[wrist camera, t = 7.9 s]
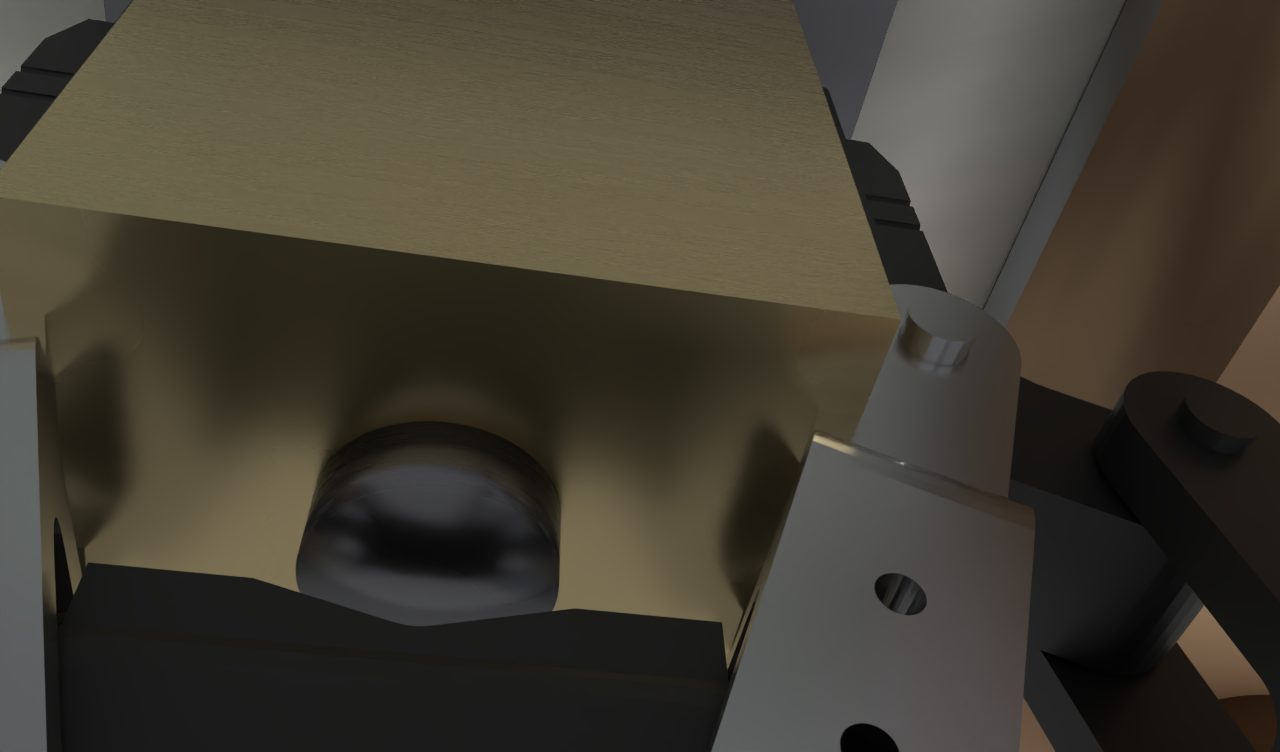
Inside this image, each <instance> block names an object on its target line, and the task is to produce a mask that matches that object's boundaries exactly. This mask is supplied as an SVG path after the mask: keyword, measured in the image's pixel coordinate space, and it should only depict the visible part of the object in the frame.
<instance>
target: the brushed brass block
mask: <svg viewBox="0 0 1280 752" xmlns="http://www.w3.org/2000/svg"><path fill="white" fill-rule="evenodd" d="M0 295H1V300H2V305H3V310H6V311H14V312H23V313H31V314H39V315H45V320H46V326H47V332H48V338H49V343H50V349H51V355H52V361H53V367H54V373H55V384H56V405H57V420H58V430H59V440H60V449H61V457H62V464H63V471H64V477H65V483H66V489H67V495H68V500H69V506H70V512H71V517H72V523H73V529H74V534H75V540H76V546H77V548H84V549H85V555H86V560H87V564H88V562H90V563H100V564H111V565H121V566H132V567H143V568H153V569H164V570H174V571H185V572H196V573H206V574H217V575H227V576H238V577H248V578H255V579H258V580H261V581H264V582H268V583H271V584H274V585H277V586H280V587H284V588H287V589H290V590H293V591H296V592H300V593H303V594H306V595H309V596H312V597H315V598H319V599H322V600H325V601H328V602H331V603H335V604H338V605H341V606H344V607H347V608H351V609H354V610H357V611H360V612H363V613H367V614H370V615H373V616H376V617H379V618H382V619H386V620H389V621H392V622H395V623H399V624H404V625H410V626H431V625H440V624H448V623H457V622H465V621H473V620H482V619H490V618H499V617H507V616H515V615H524V614H532V613H540V612H549V611H557V610H566V609H574V608H577V609H587V610H598V611H609V612H619V613H630V614H640V615H651V616H662V617H672V618H683V619H693V620H704V621H715V622H722V626H723V635H724V644H725V653H726V657H727V654H728V651H729V648H730V646H731V643H732V640H733V638H734V635H735V633H736V630H737V627H738V625H739V622H740V619H741V617H742V614H743V612H746V610H747V607H748V604H749V602H750V599H751V596H752V594H753V591H754V589H755V586H756V583H757V581H758V578H759V575H760V573H761V570H762V567H763V565H764V562H765V560H766V557H767V554H768V552H769V549H770V546H771V543H772V541H773V538H774V535H775V533H776V530H777V527H778V524H779V521H780V519H781V516H782V513H783V510H784V507H785V504H786V501H787V499H788V496H789V493H790V490H791V487H792V484H793V481H794V478H795V475H796V472H797V469H798V466H799V463H800V460H801V457H802V455H803V452H804V449H805V447H806V444H807V442H808V439H809V436H810V434H811V431H812V428H813V426H814V423H815V420H816V418H817V415H818V412H819V410H820V411H829V412H837V413H845V414H853V415H861V416H862V414H863V412H864V409H865V407H866V405H867V402H868V400H869V397H870V395H871V392H872V390H873V387H874V385H875V383H876V380H877V378H878V375H879V373H880V370H881V368H882V365H883V363H884V361H885V358H886V356H887V353H888V351H889V348H890V346H891V343H892V341H893V339H894V336H895V334H896V331H897V329H898V326H899V324H900V321H901V317H900V315H899V312H898V309H897V306H896V303H895V300H894V297H893V294H892V291H891V288H890V285H889V282H888V279H887V276H886V273H885V271H884V268H883V265H882V262H881V259H880V256H879V253H878V250H877V247H876V244H875V241H874V238H873V235H872V232H871V229H870V227H869V224H868V221H867V218H866V215H865V212H864V209H863V206H862V203H861V200H860V197H859V194H858V191H857V188H856V185H855V183H854V180H853V177H852V174H851V171H850V168H849V165H848V162H847V159H846V156H845V153H844V150H843V147H842V144H841V141H840V138H839V136H838V133H837V130H836V127H835V124H834V121H833V118H832V115H831V112H830V109H829V106H828V103H827V100H826V97H825V94H824V92H823V89H822V86H821V83H820V80H819V77H818V74H817V71H816V68H815V65H814V62H813V59H812V56H811V53H810V50H809V48H808V45H807V42H806V39H805V36H804V33H803V30H802V27H801V24H800V21H799V18H798V15H797V12H796V9H795V6H794V4H793V1H792V0H133V2H132V3H131V4H130V5H129V7H128V8H127V9H126V10H125V12H124V13H123V14H122V16H121V17H120V18H119V19H118V21H117V22H116V23H115V24H114V26H113V27H112V28H111V30H110V31H109V32H108V33H107V35H106V36H105V37H104V38H103V40H102V41H101V42H100V44H99V45H98V46H97V47H96V49H95V50H94V51H93V52H92V54H91V55H90V56H89V58H88V59H87V60H86V61H85V63H84V64H83V65H82V66H81V68H80V69H79V70H78V72H77V73H76V74H75V75H74V77H73V78H72V79H71V80H70V82H69V83H68V84H67V86H66V87H65V88H64V89H63V91H62V92H61V93H60V94H59V96H58V97H57V98H56V100H55V101H54V102H53V103H52V105H51V106H50V107H49V108H48V110H47V111H46V112H45V114H44V115H43V116H42V117H41V119H40V120H39V121H38V122H37V124H36V125H35V126H34V128H33V129H32V130H31V131H30V133H29V134H28V135H27V136H26V138H25V139H24V140H23V142H22V143H21V144H20V145H19V147H18V148H17V149H16V150H15V152H14V153H13V154H12V156H11V157H10V158H9V159H8V161H7V162H6V163H5V164H4V166H3V167H2V168H1V170H0Z"/></svg>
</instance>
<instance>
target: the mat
mask: <svg viewBox="0 0 1280 752" xmlns="http://www.w3.org/2000/svg"><path fill="white" fill-rule="evenodd" d="M131 1H132V0H104V5H105V14H106V22H111V23H114V22H115V21H116V20H117V19H118V17H119V16H120V15H121V14H122V12H123V11H124V10H125V8H126V7H127V6H128V5H129V3H130V2H131ZM792 1H793V4H794V6H795V9H796V12H797V15H798V18H799V21H800V24H801V27H802V30H803V33H804V36H805V39H806V42H807V45H808V48H809V50H810V53H811V56H812V59H813V62H814V65H815V68H816V71H817V74H818V77H819V80H820V83H821V86H822V87H826V88H827V89H828V90H829V92H830V95H831V98H832V101H833V104H834V107H835V109H836V112H837V115H838V118H839V121H840V124H841V127H842V129H843V132H844V135H845V138H846V139H848V140H851V137H852V134H853V131H854V128H855V125H856V122H857V119H858V116H859V113H860V110H861V107H862V104H863V101H864V99H865V96H866V93H867V90H868V87H869V84H870V81H871V78H872V75H873V72H874V69H875V66H876V63H877V60H878V57H879V54H880V51H881V48H882V45H883V42H884V39H885V36H886V33H887V30H888V27H889V24H890V21H891V18H892V15H893V12H894V9H895V6H896V3H897V0H792Z"/></svg>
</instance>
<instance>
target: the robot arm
mask: <svg viewBox="0 0 1280 752" xmlns="http://www.w3.org/2000/svg"><path fill="white" fill-rule="evenodd" d="M132 2H133V0H132V1H131V2H130V3H129V5H130V4H131V3H132ZM129 5H128V6H127V7H126V8H125V10H126V9H127V8H128V7H129ZM125 10H124V11H123V12H122V14H123V13H124V12H125ZM122 14H121V15H120V16H119V17H118V19H119V18H120V17H121V16H122ZM118 19H117V20H116V21H115V22H114V23H111V22H104V21H98V20H92V19H88V20H86V21H83V22H81V23H79V24H77V25H74V26H72V27H70V28H68V29H65V30H63V31H61V32H59V33H56V34H54V35H52V36H50V37H47V38H45V39H44V40H43V41H42V42H41V43H40V45H39V46H38V47H37V48H36V49H35V50H34V51H33V53H32V54H31V55H30V56H29V57H28V58H27V59H26V61H25V62H24V63H23V64H22V65H21V72H19V71H16V72H15V73H14V74H13V75H12V77H11V78H10V79H9V80H8V81H7V82H6V83H5V85H4V86H3V87H2V93H1V94H0V170H1V168H2V167H3V166H4V164H5V163H6V162H7V161H8V159H9V158H10V157H11V156H12V154H13V153H14V152H15V150H16V149H17V148H18V147H19V145H20V144H21V143H22V142H23V140H24V139H25V138H26V136H27V135H28V134H29V133H30V131H31V130H32V129H33V128H34V126H35V125H36V124H37V122H38V121H39V120H40V119H41V117H42V116H43V115H44V114H45V112H46V111H47V110H48V108H49V107H50V106H51V105H52V103H53V102H54V101H55V100H56V98H57V97H58V96H59V94H60V93H61V92H62V91H63V89H64V88H65V87H66V86H67V84H68V83H69V82H70V80H71V79H72V78H73V77H74V75H75V74H76V73H77V72H78V70H79V69H80V68H81V66H82V65H83V64H84V63H85V61H86V60H87V59H88V58H89V56H90V55H91V54H92V52H93V51H94V50H95V49H96V47H97V46H98V45H99V44H100V42H101V41H102V40H103V38H104V37H105V36H106V35H107V33H108V32H109V31H110V30H111V28H112V27H113V26H114V24H115V23H116V22H117V21H118ZM822 89H823V92H824V94H825V97H826V100H827V103H828V106H829V109H830V112H831V115H832V118H833V121H834V124H835V127H836V130H837V133H838V136H839V138H840V141H841V144H842V147H843V150H844V153H845V156H846V159H847V162H848V165H849V168H850V171H851V174H852V177H853V180H854V183H855V185H856V188H857V191H858V194H859V197H860V200H861V203H862V206H863V209H864V212H865V215H866V218H867V221H868V224H869V227H870V229H871V232H872V235H873V238H874V241H875V244H876V247H877V250H878V253H879V256H880V259H881V262H882V265H883V268H884V271H885V273H886V276H887V279H888V282H889V285H890V288H891V291H892V294H893V297H894V300H895V303H896V306H897V309H898V312H899V315H900V317H901V321H900V324H899V326H898V329H897V331H896V334H895V336H894V339H893V341H892V343H891V346H890V348H889V351H888V353H887V356H886V358H885V361H884V363H883V365H882V368H881V370H880V373H879V375H878V378H877V380H876V383H875V385H874V387H873V390H872V392H871V395H870V397H869V400H868V402H867V405H866V407H865V409H864V412H863V414H862V416H861V415H853V414H845V413H837V412H829V411H820V410H819V412H818V415H817V418H816V420H815V423H814V426H813V428H812V431H811V434H810V436H809V439H808V442H807V444H806V447H805V449H804V452H803V455H802V457H801V460H800V463H799V466H798V469H797V472H796V475H795V478H794V481H793V484H792V487H791V490H790V493H789V496H788V499H787V501H786V504H785V507H784V510H783V513H782V516H781V519H780V521H779V524H778V527H777V530H776V533H775V535H774V538H773V541H772V543H771V546H770V549H769V552H768V554H767V557H766V560H765V562H764V565H763V567H762V570H761V573H760V575H759V578H758V581H757V583H756V586H755V589H754V591H753V594H752V596H751V599H750V602H749V604H748V607H747V610H746V612H743V614H742V617H741V619H740V622H739V625H738V627H737V630H736V633H735V635H734V638H733V640H732V643H731V646H730V648H729V651H728V654H727V657H726V653H725V644H724V635H723V626H722V622H715V621H704V620H693V619H683V618H672V617H662V616H651V615H640V614H630V613H619V612H609V611H598V610H587V609H577V608H574V609H566V610H557V611H549V612H540V613H532V614H524V615H515V616H507V617H499V618H490V619H482V620H473V621H465V622H457V623H448V624H440V625H431V626H410V625H404V624H399V623H395V622H392V621H389V620H386V619H382V618H379V617H376V616H373V615H370V614H367V613H363V612H360V611H357V610H354V609H351V608H347V607H344V606H341V605H338V604H335V603H331V602H328V601H325V600H322V599H319V598H315V597H312V596H309V595H306V594H303V593H300V592H296V591H293V590H290V589H287V588H284V587H280V586H277V585H274V584H271V583H268V582H264V581H261V580H258V579H255V578H248V577H238V576H227V575H217V574H206V573H196V572H185V571H174V570H164V569H153V568H143V567H132V566H121V565H111V564H100V563H90V562H88V564H87V560H86V555H85V549H84V548H77V546H76V540H75V534H74V529H73V523H72V517H71V512H70V506H69V500H68V495H67V489H66V483H65V477H64V471H63V464H62V457H61V449H60V440H59V430H58V420H57V405H56V384H55V373H54V367H53V361H52V355H51V349H50V343H49V338H48V332H47V326H46V320H45V315H39V314H31V313H23V312H14V311H6V310H3V305H2V300H1V295H0V752H1019V749H1020V735H1021V721H1022V707H1023V697H1024V699H1025V701H1026V702H1027V704H1028V706H1029V708H1030V709H1031V711H1032V713H1033V714H1034V716H1035V718H1036V719H1037V721H1038V723H1039V725H1040V726H1041V728H1042V730H1043V731H1044V733H1045V735H1046V736H1047V738H1048V740H1049V742H1050V743H1051V745H1052V747H1053V748H1054V750H1055V752H1257V751H1256V750H1255V749H1254V747H1253V746H1252V745H1251V743H1250V742H1249V740H1248V739H1247V738H1246V736H1245V735H1244V734H1243V732H1242V731H1241V729H1240V728H1239V727H1238V725H1237V724H1236V723H1235V721H1234V720H1233V719H1232V717H1231V716H1230V714H1229V713H1228V712H1227V710H1226V709H1225V708H1224V706H1223V705H1222V703H1221V702H1220V701H1219V699H1218V698H1217V697H1216V695H1215V694H1214V692H1213V691H1212V690H1211V688H1210V687H1209V686H1208V684H1207V683H1206V681H1205V680H1204V679H1203V677H1202V676H1201V675H1200V673H1199V672H1198V671H1197V669H1196V668H1195V666H1194V665H1193V664H1192V662H1191V661H1190V660H1189V658H1188V657H1187V655H1186V654H1185V653H1184V651H1183V650H1182V649H1181V647H1180V646H1179V644H1178V643H1177V641H1178V639H1179V638H1180V637H1181V636H1182V634H1183V633H1184V632H1185V630H1186V629H1187V628H1188V626H1189V625H1190V624H1191V622H1192V621H1193V620H1194V618H1195V617H1196V616H1197V615H1198V613H1199V612H1200V611H1201V609H1202V608H1203V607H1204V605H1205V607H1206V608H1207V609H1208V611H1209V612H1210V613H1211V615H1212V616H1213V617H1214V618H1215V620H1216V621H1217V622H1218V624H1219V625H1220V626H1221V628H1222V629H1223V630H1224V631H1225V633H1226V634H1227V635H1228V637H1229V638H1230V639H1231V640H1232V642H1233V643H1234V644H1235V646H1236V647H1237V648H1238V650H1239V651H1240V652H1241V653H1242V655H1243V656H1244V657H1245V659H1246V660H1247V661H1248V662H1249V664H1250V665H1251V666H1252V668H1253V669H1254V670H1255V672H1256V673H1257V674H1258V675H1259V677H1260V678H1261V680H1262V681H1263V683H1264V684H1265V686H1266V688H1267V690H1268V691H1269V693H1270V696H1271V698H1272V701H1273V704H1274V708H1275V712H1276V719H1277V733H1276V738H1275V743H1274V745H1273V747H1272V749H1271V751H1270V752H1280V423H1279V422H1278V421H1276V420H1275V419H1274V418H1273V417H1272V416H1271V415H1270V414H1269V413H1267V412H1266V411H1265V410H1263V409H1262V408H1261V407H1260V406H1258V405H1257V404H1255V403H1254V402H1252V401H1251V400H1249V399H1247V398H1246V397H1244V396H1242V395H1241V394H1239V393H1237V392H1235V391H1233V390H1231V389H1229V388H1227V387H1225V386H1222V385H1220V384H1218V383H1216V382H1213V381H1210V380H1207V379H1204V378H1201V377H1198V376H1194V375H1190V374H1186V373H1179V372H1172V371H1156V372H1148V373H1145V374H1142V375H1139V376H1137V377H1136V378H1134V379H1132V380H1131V381H1130V382H1129V384H1128V385H1127V386H1126V387H1125V389H1124V391H1123V393H1122V394H1121V396H1120V398H1119V399H1118V401H1117V403H1116V404H1115V406H1114V408H1113V410H1111V409H1108V408H1105V407H1102V406H1099V405H1096V404H1093V403H1090V402H1087V401H1084V400H1081V399H1078V398H1075V397H1072V396H1070V395H1067V394H1064V393H1061V392H1058V391H1055V390H1052V389H1049V388H1046V387H1044V386H1041V385H1039V384H1036V383H1034V382H1031V381H1029V380H1027V379H1025V378H1023V377H1021V376H1020V375H1021V365H1022V364H1021V354H1020V351H1019V348H1018V346H1017V344H1016V342H1015V341H1014V339H1013V337H1012V336H1011V335H1010V334H1009V332H1008V331H1007V330H1006V329H1005V328H1004V327H1003V326H1002V325H1001V324H1000V323H999V322H998V321H997V320H996V319H995V318H993V317H992V316H991V315H989V314H988V313H987V312H985V311H984V310H982V309H980V308H979V307H977V306H975V305H974V304H972V303H970V302H968V301H966V300H964V299H962V298H960V297H957V296H954V295H952V294H949V293H948V292H947V290H946V287H945V285H944V282H943V280H942V277H941V275H940V272H939V270H938V267H937V265H936V262H935V260H934V257H933V255H932V253H931V250H930V248H929V245H928V243H927V240H926V238H925V235H924V233H923V231H919V229H920V223H919V220H918V218H917V215H916V213H915V210H914V208H913V207H911V206H910V202H911V201H910V198H909V196H908V193H907V191H906V188H905V186H904V183H903V181H902V178H901V176H900V173H899V171H898V170H897V169H896V168H894V167H893V166H892V165H891V164H890V163H889V162H888V161H887V160H886V159H885V158H884V157H883V156H882V155H881V154H880V153H879V152H878V151H877V150H876V149H875V148H874V147H873V146H872V145H871V144H869V143H867V142H860V141H854V140H848V139H846V138H845V135H844V132H843V129H842V127H841V124H840V121H839V118H838V115H837V112H836V109H835V107H834V104H833V101H832V98H831V95H830V92H829V90H828V89H827V88H826V87H822Z"/></svg>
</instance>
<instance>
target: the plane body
mask: <svg viewBox="0 0 1280 752" xmlns="http://www.w3.org/2000/svg"><path fill="white" fill-rule="evenodd" d="M984 311H985V312H987V313H988V314H989V315H991V316H992V317H993V318H995V319H996V320H997V321H998V322H999V323H1000V324H1001V325H1002V326H1003V327H1004V328H1005V329H1006V330H1007V331H1008V332H1009V334H1010V335H1011V336H1012V337H1013V339H1014V341H1015V342H1016V344H1017V346H1018V348H1019V351H1020V354H1021V364H1022V365H1021V375H1020V376H1021V377H1023V378H1025V379H1027V380H1029V381H1031V382H1034V383H1036V384H1039V385H1041V386H1044V387H1046V388H1049V389H1052V390H1055V391H1058V392H1061V393H1064V394H1067V395H1070V396H1072V397H1075V398H1078V399H1081V400H1084V401H1087V402H1090V403H1093V404H1096V405H1099V406H1102V407H1105V408H1108V409H1111V410H1113V408H1114V406H1115V404H1116V403H1117V401H1118V399H1119V398H1120V396H1121V394H1122V393H1123V391H1124V389H1125V387H1126V386H1127V385H1128V384H1129V382H1130V381H1131V380H1132V379H1134V378H1136V377H1137V376H1139V375H1142V374H1145V373H1148V372H1156V371H1172V372H1179V373H1186V374H1190V375H1194V376H1198V377H1201V378H1204V379H1207V380H1210V381H1213V382H1216V383H1218V384H1220V385H1222V386H1225V387H1227V388H1229V389H1231V390H1233V391H1235V392H1237V393H1239V394H1241V395H1242V396H1244V397H1246V398H1247V399H1249V400H1251V401H1252V402H1254V403H1255V404H1257V405H1258V406H1260V407H1261V408H1262V409H1263V410H1265V411H1266V412H1267V413H1269V414H1270V415H1271V416H1272V417H1273V418H1274V419H1275V420H1276V421H1278V422H1279V423H1280V0H1127V2H1126V4H1125V6H1124V8H1123V10H1122V13H1121V15H1120V17H1119V19H1118V21H1117V23H1116V26H1115V28H1114V30H1113V32H1112V34H1111V36H1110V38H1109V41H1108V43H1107V45H1106V47H1105V49H1104V51H1103V54H1102V56H1101V58H1100V60H1099V62H1098V64H1097V66H1096V69H1095V71H1094V73H1093V75H1092V77H1091V79H1090V82H1089V84H1088V86H1087V88H1086V90H1085V92H1084V95H1083V97H1082V99H1081V101H1080V103H1079V105H1078V107H1077V110H1076V112H1075V114H1074V116H1073V118H1072V120H1071V123H1070V125H1069V127H1068V129H1067V131H1066V133H1065V135H1064V138H1063V140H1062V142H1061V144H1060V146H1059V148H1058V151H1057V153H1056V155H1055V157H1054V159H1053V161H1052V163H1051V166H1050V168H1049V170H1048V172H1047V174H1046V176H1045V179H1044V181H1043V183H1042V185H1041V187H1040V189H1039V191H1038V194H1037V196H1036V198H1035V200H1034V202H1033V204H1032V207H1031V209H1030V211H1029V213H1028V215H1027V217H1026V219H1025V222H1024V224H1023V226H1022V228H1021V230H1020V232H1019V235H1018V237H1017V239H1016V241H1015V243H1014V245H1013V247H1012V250H1011V252H1010V254H1009V256H1008V258H1007V260H1006V263H1005V265H1004V267H1003V269H1002V271H1001V273H1000V275H999V278H998V280H997V282H996V284H995V286H994V288H993V291H992V293H991V295H990V297H989V299H988V301H987V304H986V306H985V308H984ZM1177 643H1178V644H1179V646H1180V647H1181V649H1182V650H1183V651H1184V653H1185V654H1186V655H1187V657H1188V658H1189V660H1190V661H1191V662H1192V664H1193V665H1194V666H1195V668H1196V669H1197V671H1198V672H1199V673H1200V675H1201V676H1202V677H1203V679H1204V680H1205V681H1206V683H1207V684H1208V686H1209V687H1210V688H1211V690H1212V691H1213V692H1214V694H1215V695H1216V697H1217V698H1218V699H1219V701H1220V702H1221V703H1222V705H1223V706H1224V708H1225V709H1226V710H1227V712H1228V713H1229V714H1230V716H1231V717H1232V719H1233V720H1234V721H1235V723H1236V724H1237V725H1238V727H1239V728H1240V729H1241V731H1242V732H1243V734H1244V735H1245V736H1246V738H1247V739H1248V740H1249V742H1250V743H1251V745H1252V746H1253V747H1254V749H1255V750H1256V751H1257V752H1270V751H1271V749H1272V747H1273V745H1274V743H1275V738H1276V733H1277V719H1276V712H1275V708H1274V704H1273V701H1272V698H1271V696H1270V693H1269V691H1268V690H1267V688H1266V686H1265V684H1264V683H1263V681H1262V680H1261V678H1260V677H1259V675H1258V674H1257V673H1256V672H1255V670H1254V669H1253V668H1252V666H1251V665H1250V664H1249V662H1248V661H1247V660H1246V659H1245V657H1244V656H1243V655H1242V653H1241V652H1240V651H1239V650H1238V648H1237V647H1236V646H1235V644H1234V643H1233V642H1232V640H1231V639H1230V638H1229V637H1228V635H1227V634H1226V633H1225V631H1224V630H1223V629H1222V628H1221V626H1220V625H1219V624H1218V622H1217V621H1216V620H1215V618H1214V617H1213V616H1212V615H1211V613H1210V612H1209V611H1208V609H1207V608H1206V607H1205V605H1204V607H1203V608H1202V609H1201V611H1200V612H1199V613H1198V615H1197V616H1196V617H1195V618H1194V620H1193V621H1192V622H1191V624H1190V625H1189V626H1188V628H1187V629H1186V630H1185V632H1184V633H1183V634H1182V636H1181V637H1180V638H1179V639H1178V641H1177ZM1019 752H1055V750H1054V748H1053V747H1052V745H1051V743H1050V742H1049V740H1048V738H1047V736H1046V735H1045V733H1044V731H1043V730H1042V728H1041V726H1040V725H1039V723H1038V721H1037V719H1036V718H1035V716H1034V714H1033V713H1032V711H1031V709H1030V708H1029V706H1028V704H1027V702H1026V701H1025V699H1024V697H1023V707H1022V721H1021V735H1020V749H1019Z"/></svg>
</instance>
